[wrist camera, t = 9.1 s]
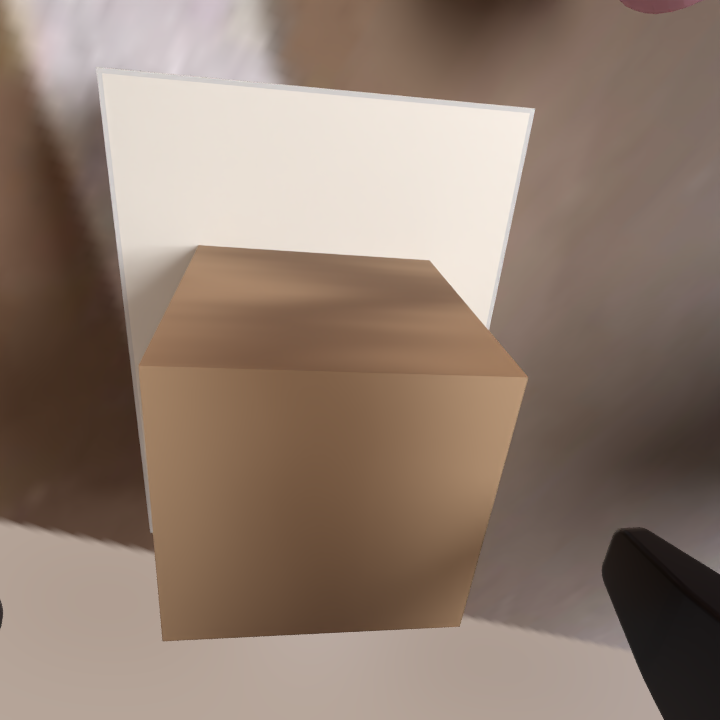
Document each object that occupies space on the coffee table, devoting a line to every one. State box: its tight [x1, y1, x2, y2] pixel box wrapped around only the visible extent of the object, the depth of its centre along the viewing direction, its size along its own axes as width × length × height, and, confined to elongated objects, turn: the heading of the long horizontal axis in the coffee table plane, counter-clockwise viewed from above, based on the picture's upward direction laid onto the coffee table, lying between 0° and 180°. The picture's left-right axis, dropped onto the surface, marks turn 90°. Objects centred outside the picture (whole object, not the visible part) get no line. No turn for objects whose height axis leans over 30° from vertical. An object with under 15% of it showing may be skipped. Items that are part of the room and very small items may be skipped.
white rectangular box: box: [96, 67, 535, 533], centre depth 16 cm, size 9×12×4 cm
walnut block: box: [138, 245, 528, 641], centre depth 11 cm, size 6×6×6 cm
